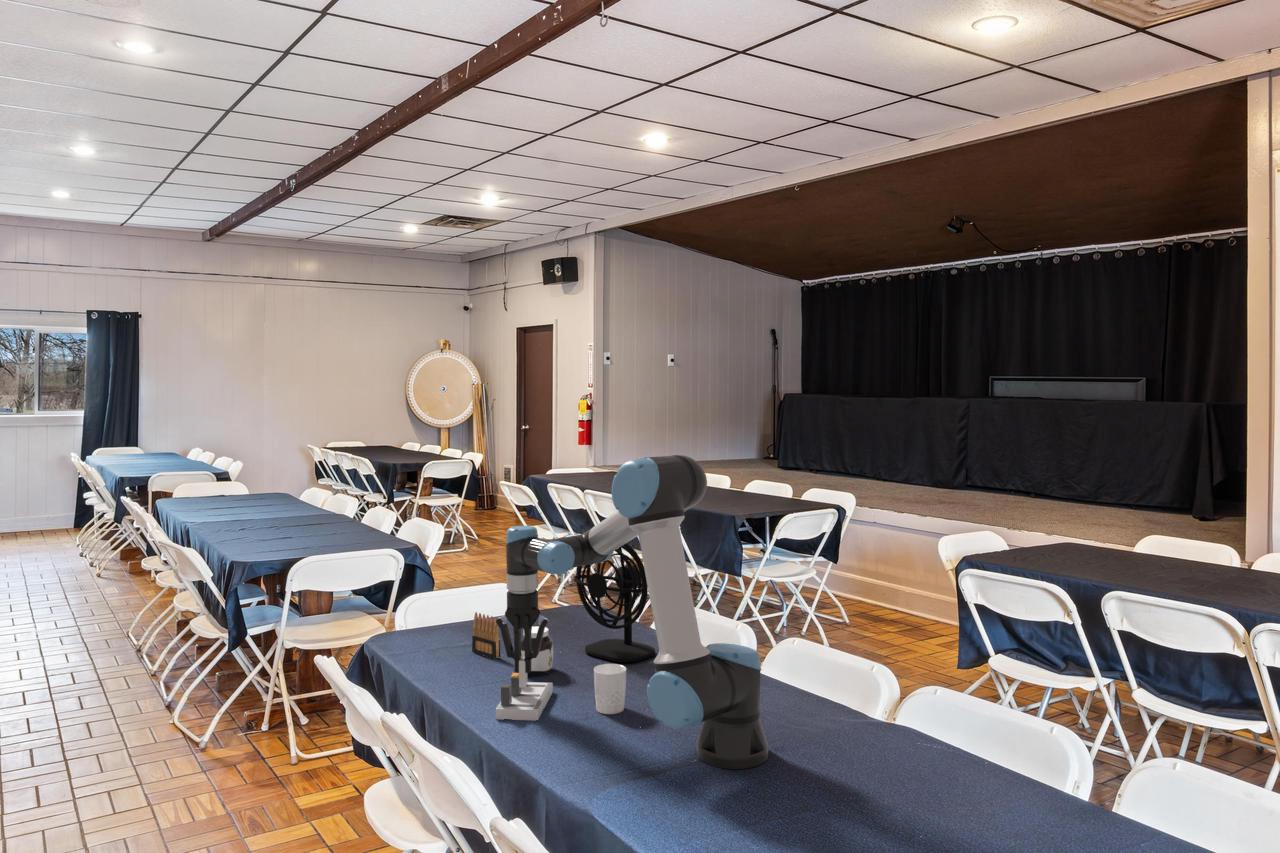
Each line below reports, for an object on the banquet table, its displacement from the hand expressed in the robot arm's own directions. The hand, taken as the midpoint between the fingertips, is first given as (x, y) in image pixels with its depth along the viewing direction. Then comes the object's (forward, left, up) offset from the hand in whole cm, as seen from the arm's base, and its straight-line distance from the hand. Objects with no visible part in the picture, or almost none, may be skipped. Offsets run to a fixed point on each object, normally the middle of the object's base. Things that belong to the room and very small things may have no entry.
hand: (523, 685), depth 220 cm
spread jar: (+27, +4, -5) cm, 28 cm away
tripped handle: (0, +2, -2) cm, 3 cm away
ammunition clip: (+39, +20, -5) cm, 44 cm away
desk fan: (+43, -18, -5) cm, 47 cm away
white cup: (-1, -21, -5) cm, 22 cm away
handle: (-7, +3, -2) cm, 8 cm away
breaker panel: (0, 0, -5) cm, 5 cm away
